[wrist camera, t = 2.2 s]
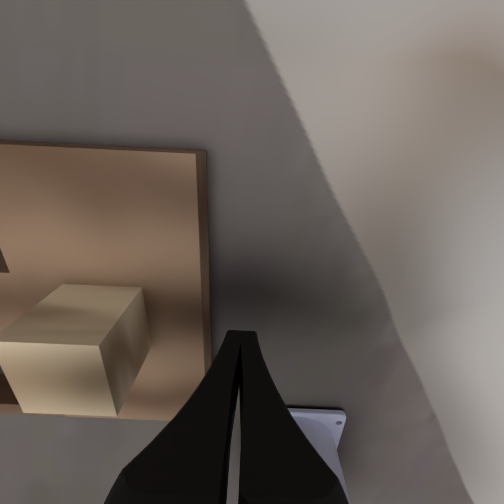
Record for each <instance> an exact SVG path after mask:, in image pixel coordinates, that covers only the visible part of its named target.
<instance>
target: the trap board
mask: <svg viewBox="0 0 504 504" xmlns="http://www.w3.org/2000/svg"><path fill="white" fill-rule="evenodd" d="M62 284H77V285H99V286H122V287H142V290H143V296H144V303H145V310H146V316H147V323H148V329H149V336H150V343H151V349H150V351H149V353H148V355H147V357H146V359H145V361H144V363H143V365H142V367H141V369H140V371H139V373H138V375H137V377H136V379H135V381H134V383H133V385H132V387H131V389H130V391H129V393H128V395H127V397H126V399H125V401H124V403H123V405H122V407H121V410H120V412H119V414H118V416H117V417H115V416H90V415H65V414H41V413H23V411H22V409H21V407H20V405H19V403H18V400H17V398H16V396H15V394H14V392H13V390H12V388H11V386H10V384H9V382H8V380H7V378H6V376H5V374H4V372H3V370H2V368H1V366H0V414H21V415H45V416H70V417H95V418H119V419H144V420H169V421H171V420H172V419H173V418H174V417H175V415H176V414H177V413H178V412H179V410H180V409H181V408H182V407H183V405H184V404H185V403H186V402H187V400H188V399H189V398H190V396H191V395H192V394H193V392H194V391H195V390H196V388H197V387H198V385H199V384H200V382H201V381H202V379H203V378H204V376H205V374H206V373H207V371H208V370H209V368H210V366H211V365H212V358H211V319H210V279H209V240H208V201H207V161H206V151H204V150H184V149H164V148H143V147H123V146H103V145H83V144H63V143H42V142H22V141H2V140H0V332H1V331H2V330H4V329H5V328H6V327H8V326H9V325H10V324H12V323H13V322H14V321H15V320H17V319H18V318H19V317H21V316H22V315H23V314H25V313H26V312H27V311H28V310H30V309H31V308H32V307H34V306H35V305H36V304H38V303H39V302H40V301H41V300H43V299H44V298H45V297H47V296H48V295H49V294H50V293H52V292H53V291H54V290H56V289H57V288H58V287H60V286H61V285H62Z"/></svg>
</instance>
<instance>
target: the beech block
mask: <svg viewBox="0 0 504 504" xmlns="http://www.w3.org/2000/svg"><path fill="white" fill-rule="evenodd" d="M150 349H151V343H150V336H149V329H148V323H147V316H146V310H145V303H144V296H143V290H142V287H122V286H99V285H77V284H62V285H61V286H60V287H58V288H57V289H56V290H54V291H53V292H52V293H50V294H49V295H48V296H47V297H45V298H44V299H43V300H41V301H40V302H39V303H38V304H36V305H35V306H34V307H32V308H31V309H30V310H28V311H27V312H26V313H25V314H23V315H22V316H21V317H19V318H18V319H17V320H15V321H14V322H13V323H12V324H10V325H9V326H8V327H6V328H5V329H4V330H2V331H1V332H0V366H1V368H2V370H3V372H4V374H5V376H6V378H7V380H8V382H9V384H10V386H11V388H12V390H13V392H14V394H15V396H16V398H17V400H18V403H19V405H20V407H21V409H22V411H23V413H41V414H65V415H90V416H115V417H117V416H118V414H119V412H120V410H121V407H122V405H123V403H124V401H125V399H126V397H127V395H128V393H129V391H130V389H131V387H132V385H133V383H134V381H135V379H136V377H137V375H138V373H139V371H140V369H141V367H142V365H143V363H144V361H145V359H146V357H147V355H148V353H149V351H150Z"/></svg>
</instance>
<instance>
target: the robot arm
mask: <svg viewBox="0 0 504 504" xmlns="http://www.w3.org/2000/svg"><path fill="white" fill-rule="evenodd" d="M238 390H239V391H240V424H241V454H240V476H239V499H238V504H351V503H350V499H349V496H348V492H347V488H346V484H345V480H344V476H343V472H342V469H341V465H340V461H339V457H338V453H337V447H338V444H339V441H340V438H341V434H342V431H343V428H344V424H345V421H346V415H345V413H344V412H343V411H341V410H322V409H298V408H287V407H286V405H285V403H284V401H283V400H282V398H281V396H280V394H279V392H278V390H277V388H276V386H275V384H274V382H273V380H272V378H271V376H270V373H269V371H268V369H267V366H266V364H265V361H264V359H263V356H262V353H261V350H260V347H259V343H258V338H257V333H256V332H255V331H238V330H228V331H227V332H226V335H225V338H224V341H223V343H222V345H221V347H220V350H219V352H218V354H217V355H216V357H215V359H214V361H213V363H212V365H211V366H210V368H209V370H208V371H207V373H206V374H205V376H204V378H203V379H202V381H201V382H200V384H199V385H198V387H197V388H196V390H195V391H194V392H193V394H192V395H191V396H190V398H189V399H188V400H187V402H186V403H185V404H184V405H183V407H182V408H181V409H180V410H179V412H178V413H177V414H176V415H175V417H174V418H173V419H172V420H171V421H170V422H169V423H168V424H167V426H166V427H165V428H164V429H163V430H162V431H161V432H160V433H159V434H158V435H157V436H156V437H155V438H154V439H153V441H152V442H151V443H150V444H149V445H148V446H147V447H146V448H144V449H143V450H142V451H141V452H140V453H139V454H138V455H137V456H136V457H135V458H134V459H133V460H132V461H131V462H130V463H129V464H128V465H126V466H125V467H124V468H123V469H122V471H121V473H120V474H119V476H118V478H117V479H116V481H115V483H114V485H113V487H112V488H111V490H110V492H109V494H108V496H107V498H106V500H105V502H104V504H226V501H227V487H228V472H229V459H230V445H231V437H232V430H233V423H234V416H235V410H236V403H237V396H238Z"/></svg>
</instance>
